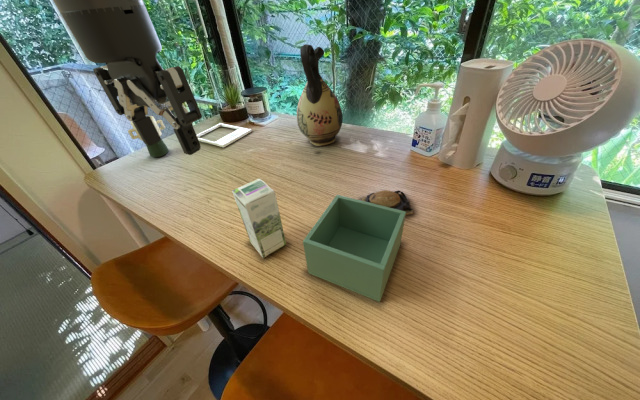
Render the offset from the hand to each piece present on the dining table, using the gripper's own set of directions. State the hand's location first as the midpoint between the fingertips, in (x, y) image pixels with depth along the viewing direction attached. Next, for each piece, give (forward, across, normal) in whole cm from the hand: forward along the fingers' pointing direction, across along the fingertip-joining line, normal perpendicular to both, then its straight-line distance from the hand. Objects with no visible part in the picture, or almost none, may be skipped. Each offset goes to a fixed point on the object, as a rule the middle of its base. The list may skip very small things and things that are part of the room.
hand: (173, 147), depth 36 cm
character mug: (+25, -56, +26) cm, 67 cm away
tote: (+25, +24, +10) cm, 36 cm away
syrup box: (+25, +6, +6) cm, 26 cm away
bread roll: (+25, +26, +27) cm, 45 cm away
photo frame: (+25, -45, +46) cm, 69 cm away
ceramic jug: (+25, -5, +53) cm, 59 cm away
